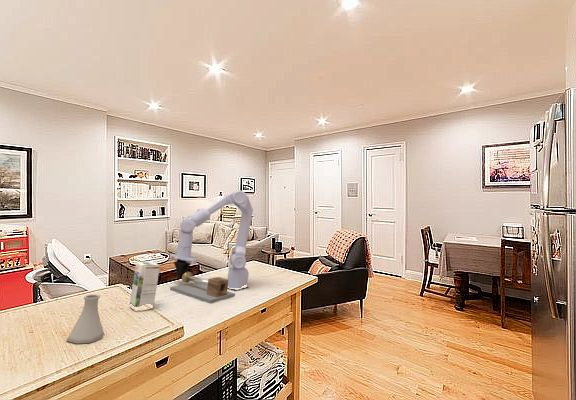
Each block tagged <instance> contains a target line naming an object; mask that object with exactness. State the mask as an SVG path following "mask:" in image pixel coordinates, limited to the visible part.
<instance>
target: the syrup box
mask: <svg viewBox="0 0 576 400" xmlns="http://www.w3.org/2000/svg"><path fill="white" fill-rule="evenodd" d="M160 266H161V264H158V263H156V262H154V261H147V260H146V261H137V262H135V268H134V269H135V270H134V276H133V281H132V287H131V291H130V292H131V293H130V298H129V299H130V300H129V305H130V304H132V305H133V306H134V307H140V306H142V305H145V304H151V305H153V306H154V305H155V300H156V295H157V293H156V292H157V289H158V288H157V287H158V281H159V275H160V268H161V267H160ZM154 307H155V306H154Z"/></svg>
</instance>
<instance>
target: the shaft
mask: <svg viewBox="0 0 576 400" xmlns="http://www.w3.org/2000/svg"><path fill="white" fill-rule="evenodd" d="M181 281H182V282H184V283H185V284H189V282H192V283H195V282H197V283H200V284H203V285H207V286H208V279H205V278H202V277H201V278H200V277H197V276H194V275H193V273H192V272H191V271H186V272H185V273H184V274H183V275H182V279H181Z"/></svg>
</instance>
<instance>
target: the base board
mask: <svg viewBox="0 0 576 400" xmlns="http://www.w3.org/2000/svg"><path fill="white" fill-rule="evenodd" d="M207 287H208V286H207V285H203V284H200V283H197V282H190V283H189V282H188V283H185V284H179V285H174V286H170V289H169V290H170V291H172V292H175V293H177V294H181V295H184V296H187V297H190V298H193V299H195V300H198V301H201V302H204V303H208V304H212V303H216V302H217V303H218V302H220V301H223V300H227V299H231V298H233V297H234V296H236V293H234V292H231V291H228V290H227V295H224V296H220V297H213V296H210V295H207Z"/></svg>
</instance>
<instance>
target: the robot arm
mask: <svg viewBox="0 0 576 400" xmlns="http://www.w3.org/2000/svg"><path fill="white" fill-rule="evenodd" d="M228 205H235V206H236V207H237V208H238V209H239V211H240V212H241V216H240V220H239V224H238V225H239V226H238V231H237V234H236V235H237V236H236V240H235V244H234V245H235V246H234V249H233V252H232V253H231V255H230V259H229V260H230V263H231V264H230V265H229V266H228V273H227V279H229V280H228V287H229V288H241V287H242V286H244V285H246V284H247V285H248V281H249V270H248V269H247V267H245V266H246V264H247V260H246V254H247V253H246V251H247V249H246V248H247V243H248V238H249V232H250V228H251V224H252V223H251V222H252V218H253V212H254V209H253V207H252V204H251V202H250V198H249V196H248V195H247V194H246V192H245V191H243V190H236V191H234V192H232V193H230V194H228V195H225V196H224V197H222V198H220V199H219V200H218V201H216V202H215V203H214V204H213V203H212V205H210V206H209V207H207V208H204V207H202V208H197V210H196V212H194V213H193V214H191V215H188V216H187V218H185V219H183V220H182V221H181V222H180V225H179V227H180V230H179V236H178V242H177V247H176V248H177V250H176V253H172V254H171V253H170V255H169V259H171V260H176V261H173V264H174V267H175V270H176V278H177V279H179V280H180V279H181V280H182V275H183V274H184V273H185V272H187V270H188V269H189V267H190V266H191V265H197V261H198V259H196V258H193V257H191V254H192V247H193V239H194V236H193V234H194V230H195V228H198V227H200V226H201V225H203V224H205V222H208V220H210V219H211V215H212V214H214V213H215V212H217V211H218V210H220V209H222V208H223V207H225V206H228Z"/></svg>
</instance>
